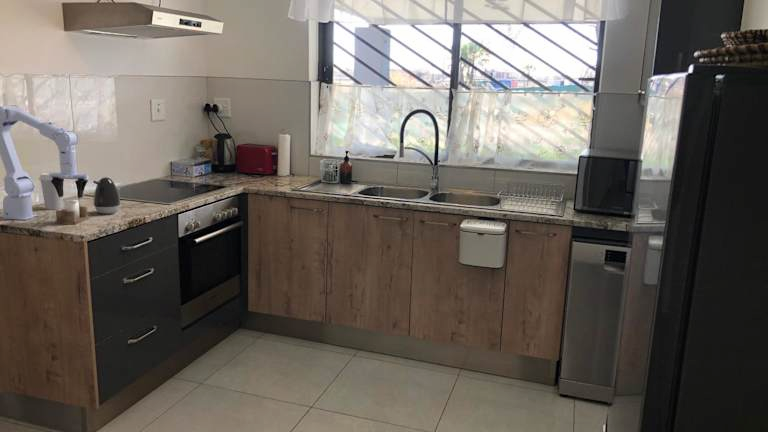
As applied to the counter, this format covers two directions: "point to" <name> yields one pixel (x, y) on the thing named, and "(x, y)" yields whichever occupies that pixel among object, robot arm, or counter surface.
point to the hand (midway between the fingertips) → (70, 197)
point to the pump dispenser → (106, 196)
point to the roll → (73, 207)
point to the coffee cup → (50, 193)
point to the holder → (71, 216)
